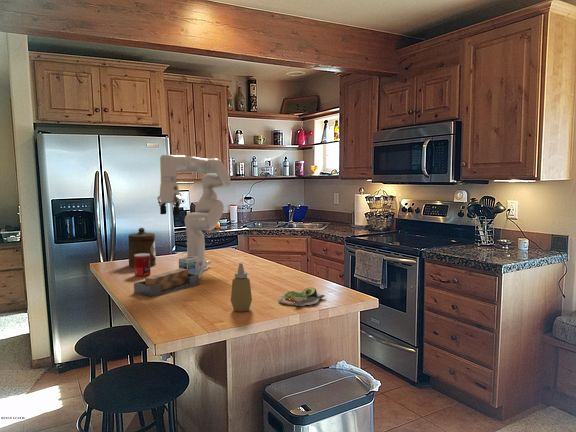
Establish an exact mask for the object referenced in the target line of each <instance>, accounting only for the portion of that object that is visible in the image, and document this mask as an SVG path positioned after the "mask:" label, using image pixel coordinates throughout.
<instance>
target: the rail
mask: <svg viewBox="0 0 576 432" xmlns="http://www.w3.org/2000/svg"><path fill="white" fill-rule="evenodd" d="M144 281H145V285H148V286H153V285H157V284H161V290H163V289H167V288H170V287H173V286H176V285H180V284H183V283H186V282H188V269H179V268H178V269H174V270H170V271H166V272H162V273H158V274H154V275H151V276H150V275H149V276H146V277H144Z"/></svg>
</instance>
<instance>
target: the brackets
mask: <svg viewBox="0 0 576 432" xmlns="http://www.w3.org/2000/svg"><path fill="white" fill-rule="evenodd" d="M199 279H200V278H199V275H195V274H190V273H188V282H186V283H183V284H180V285H176V286H173V287H170V288H167V289H163V290H161V284H157V285H153V286H148V285H145V280H141V281H138V282H134V283H133V294H136V295H139V296H143V297H147V298H148V297H149V298H155V297H158V296H161V295H165V294H170V293H172V292H176V291H179V290H184V289H188V288H191V287H196V286H198V285H200V281H199Z"/></svg>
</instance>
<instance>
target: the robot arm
mask: <svg viewBox="0 0 576 432" xmlns="http://www.w3.org/2000/svg"><path fill="white" fill-rule="evenodd" d="M159 162H160V165H159V166H160V169H159V170H160V185H159V195H158V196H157V197H156V198H157V203H158V204H159V205H158V207H160V208H159V210H160V215H166V214H167V206H166V205H167V204H171V205H172V216H179V215H180V209H179V207H180V205H181V202H182V197H181V196H180V190H179V185H178V184H179V183H178V182H177V172H183V173H194V174H195V173H196V174H204V175H203V176H202V179H201V185H202V195H201V197H200V198H199V200H198V202H197V203H196V204H195V207H194V211H195V212H190V213H187V214H186V215H185V218H184V226H185V229H186V252H187V256H186V257H189V256H193V255H194V256H200V257H203V272H204V271H206V270H209V266H208V265H210V264H212V260H210V259H209V260H206V247H205V245H206V244H205V235H204V233H203V231H212V230H214V229H215V228H216V226H217V224H218V223H219V221H220V219H221V217H222V216H223V213H224V203H223V201H221V200H220V199H218V196H217V193H216V191H215V189H225V188H228V187H229V186H230V184H231V176H230V175H229V173H228V171H227V168H226V166H225V165H224V164H223V162H222V161H221V159H219V158H204V157H203V158H202V157H197V156H186V155H185V154H182V155H181V154H178V155H177V154H176V155H175V154H174V155H173V154H161V156H160V158H159Z"/></svg>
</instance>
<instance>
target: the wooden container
mask: <svg viewBox="0 0 576 432" xmlns="http://www.w3.org/2000/svg"><path fill="white" fill-rule="evenodd" d="M127 236H128V266H129V267H131V268H134V269H135V266H134V255H135V254H140V253H148V254H150V268H151V267H154V266H156V261H157V259H156V255H157V254H156V234H155V233H154V232H152V233H151V232H146V231H145V228H144V227H139V228H138V232H136V233H130V234H128V235H127Z"/></svg>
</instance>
